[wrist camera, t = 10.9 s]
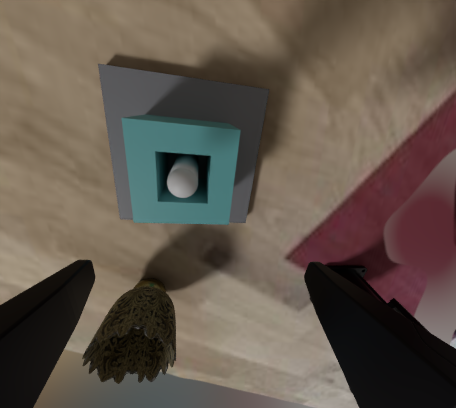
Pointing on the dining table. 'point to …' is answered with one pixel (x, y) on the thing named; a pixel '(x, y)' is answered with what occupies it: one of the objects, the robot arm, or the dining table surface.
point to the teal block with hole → (158, 168)
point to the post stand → (187, 109)
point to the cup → (135, 335)
